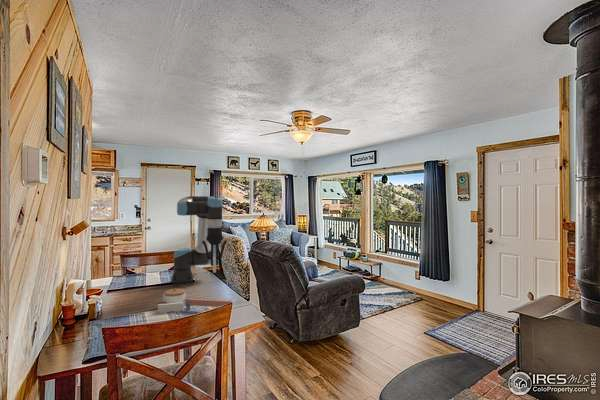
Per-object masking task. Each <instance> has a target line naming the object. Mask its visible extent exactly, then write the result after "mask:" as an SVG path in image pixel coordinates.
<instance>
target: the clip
mask: <svg viewBox="0 0 600 400" xmlns="http://www.w3.org/2000/svg"><path fill="white" fill-rule="evenodd" d="M229 303H233V301H232V300H222V299H221V300H220V299H203V298H201V299H200V298H190V297H188V298H187V297H186V299H185V300H184V305H185V307H186V306H190V307H191V306H193V307H195V306H196V307H212V308H213V307H214V308H220V307H219V306H222V305H225V304H229Z"/></svg>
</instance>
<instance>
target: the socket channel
mask: <svg viewBox="0 0 600 400" xmlns="http://www.w3.org/2000/svg"><path fill="white" fill-rule="evenodd" d="M186 295H187V294H186V291H185V298H184V301H185V299H187V297H186ZM184 301H183V302H181V303H169V304H166V302H165V298H164V293H163V294H162V303H158V304H157V313H158V314H162V313H161V312H163V313H170V311H174V312H182V311H181V310H183V311H184ZM163 302H164V303H163ZM185 310H186V311H190V310H191V305H190V306H185Z"/></svg>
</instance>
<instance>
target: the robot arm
mask: <svg viewBox="0 0 600 400" xmlns="http://www.w3.org/2000/svg"><path fill="white" fill-rule="evenodd" d="M176 214H177V215H178V216H184V217H185V216H196V217H197V218H198V219H197V221H198V223H197V239H196V240H197V242H196V243H197V244H196V245H195V247H194V248H193V249H192V247H190V246H189V247H182V248H178V249H176V250H174V252H173V272H172V276H171V279H170V283H171V282H172V283H171V284H174V283H175V285H176V284H177V285H182V284H189V283H193V282H194V281H193V280H194V278H195V277H194V274H193V271H192V267H194V266H196V267H197V266H207V265H210V266H211V267H212V273H213V274H214V273H217V266H219V260H220V259H222V258H223V254H224V250H225V246H226V244H227V243H228V241H227V239H225V238H224V236H223V228H222V226H223V199H222V198H221V197H214V196H210V195H209V196H208V195H207V196H205V195H204V196H202V195H200V196H198V195H195V196H193V195H190V196H189V195H188V196H185V197H182V198H180V199H179V200H178V201H177V203H176ZM221 242H222V244H221ZM220 244H221V249H220V253H219V245H220ZM214 245H215V258H214Z"/></svg>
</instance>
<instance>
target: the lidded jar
mask: <svg viewBox="0 0 600 400" xmlns="http://www.w3.org/2000/svg"><path fill="white" fill-rule="evenodd" d="M185 292H186V290H185V289H184V288H176V287H174V288H172V289H171V288H170V289H168V290H165V291H164V293H163V294H164V298H165V302H164V303H165V304H169V303H181V302H183V303H184V302H185V300H184V298H185Z"/></svg>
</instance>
